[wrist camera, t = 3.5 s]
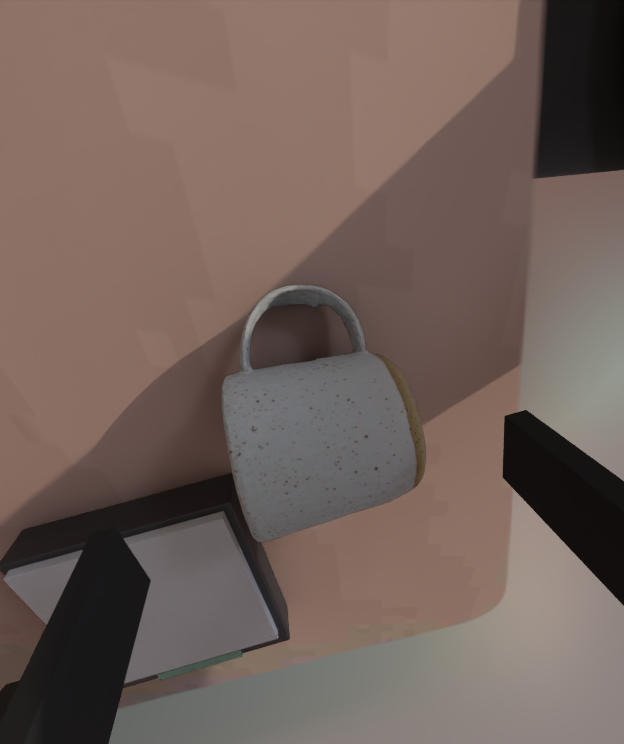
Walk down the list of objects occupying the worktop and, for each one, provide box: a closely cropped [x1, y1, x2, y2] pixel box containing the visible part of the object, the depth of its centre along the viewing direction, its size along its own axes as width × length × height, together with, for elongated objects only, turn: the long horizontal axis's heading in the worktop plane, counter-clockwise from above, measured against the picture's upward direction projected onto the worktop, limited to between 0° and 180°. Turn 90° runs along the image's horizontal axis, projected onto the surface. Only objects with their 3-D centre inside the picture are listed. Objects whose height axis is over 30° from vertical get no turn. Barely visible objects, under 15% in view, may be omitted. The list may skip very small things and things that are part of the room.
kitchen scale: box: [0, 474, 290, 688], centre depth 23 cm, size 13×14×3 cm
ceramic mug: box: [221, 285, 426, 543], centre depth 17 cm, size 11×8×8 cm
